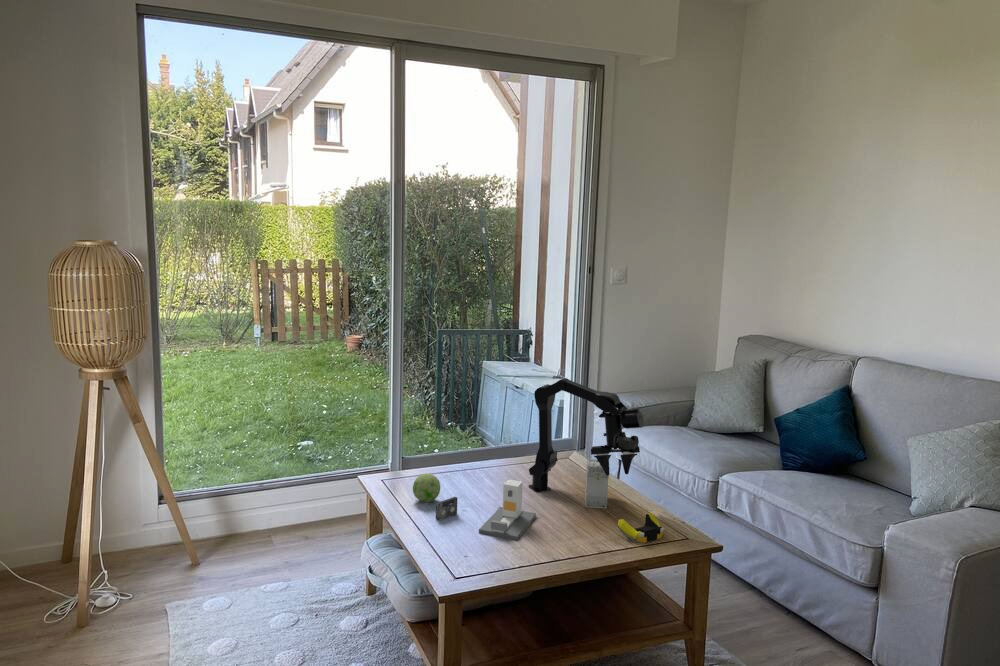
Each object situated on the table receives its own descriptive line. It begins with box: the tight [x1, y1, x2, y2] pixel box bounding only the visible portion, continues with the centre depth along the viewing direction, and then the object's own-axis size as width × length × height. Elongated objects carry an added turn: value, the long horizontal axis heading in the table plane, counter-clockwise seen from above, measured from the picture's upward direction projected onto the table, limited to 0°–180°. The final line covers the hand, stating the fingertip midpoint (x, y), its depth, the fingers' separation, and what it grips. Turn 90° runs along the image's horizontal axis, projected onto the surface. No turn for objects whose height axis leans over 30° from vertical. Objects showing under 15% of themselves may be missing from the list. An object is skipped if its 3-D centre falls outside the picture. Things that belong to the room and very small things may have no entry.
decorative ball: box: [412, 473, 441, 503], centre depth 255 cm, size 10×10×10 cm
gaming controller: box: [617, 512, 665, 544], centre depth 233 cm, size 15×6×10 cm
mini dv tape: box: [435, 496, 458, 521], centre depth 243 cm, size 8×2×6 cm, turn 135°
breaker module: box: [502, 479, 524, 520], centre depth 240 cm, size 6×5×12 cm
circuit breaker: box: [584, 458, 610, 509], centre depth 261 cm, size 8×14×15 cm, turn 174°
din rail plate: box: [478, 506, 537, 541], centre depth 238 cm, size 20×13×4 cm, turn 160°
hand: (617, 474), depth 250 cm, fingers open, 9 cm apart
